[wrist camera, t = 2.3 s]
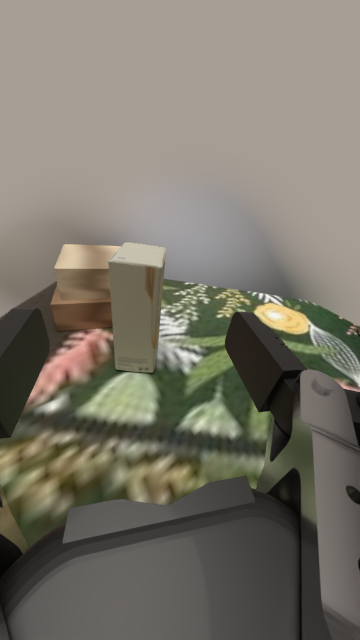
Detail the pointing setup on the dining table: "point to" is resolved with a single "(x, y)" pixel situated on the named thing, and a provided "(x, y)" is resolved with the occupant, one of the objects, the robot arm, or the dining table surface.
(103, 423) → the dining table surface
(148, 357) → the skincare box
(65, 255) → the stepped wooden pedestal
